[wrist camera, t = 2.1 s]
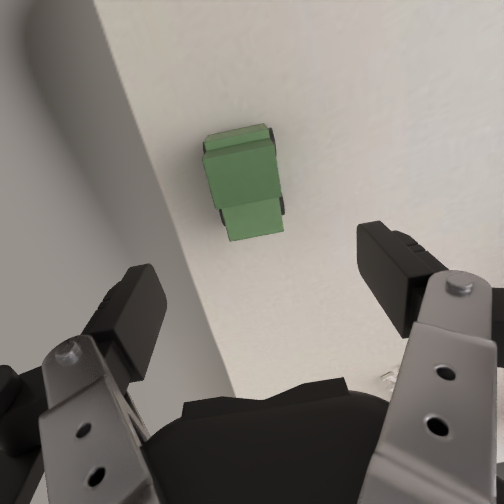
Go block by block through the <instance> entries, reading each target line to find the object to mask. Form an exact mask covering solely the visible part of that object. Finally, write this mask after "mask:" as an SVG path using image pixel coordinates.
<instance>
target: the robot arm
mask: <svg viewBox="0 0 504 504" xmlns="http://www.w3.org/2000/svg"><path fill="white" fill-rule="evenodd" d="M357 264H358V269H359V272H360V274H361V276H362V278H363V279H364V281H365V282H366V284H367V285H368V287H369V288H370V290H371V291H372V293H373V294H374V296H375V297H376V299H377V300H378V302H379V304H380V305H381V307H382V308H383V310H384V311H385V313H386V314H387V316H388V317H389V319H390V320H391V322H392V323H393V325H394V326H395V328H396V329H397V331H398V333H399V334H400V336H401V337H402V339H404V338H409V339H408V342H407V346H406V349H405V352H404V356H403V359H402V363H401V366H400V369H399V373H398V376H397V380H396V383H395V386H394V390H393V393H392V397H391V400H390V402H388V401H386V400H383V399H381V398H379V397H376V396H373V395H370V394H367V393H363V392H358V391H351V390H348V388H347V385H346V382H345V380H344V377H342V378H335V379H329V380H323V381H316V382H310V383H304V384H301V385H299V386H296V387H294V388H292V389H289V390H287V391H285V392H282V393H280V394H277V395H275V396H273V397H270V398H268V399H265V400H253V399H243V398H232V397H216V398H210V399H203V400H197V401H191V402H184V405H183V411H182V416H181V417H180V418H178V419H176V420H174V421H173V422H171V423H169V424H167V425H166V426H164V427H163V428H162V429H160V430H159V431H157V432H156V433H155V434H154V435H153V436H150V434H149V432H148V430H147V429H146V426H145V424H144V422H143V421H142V418H141V416H140V414H139V412H138V410H137V408H136V407H135V405H134V402H133V400H132V398H131V396H130V395H129V393H128V392H127V387H128V385H129V383H131V382H137V381H143V380H144V378H145V374H146V372H147V368H148V365H149V362H150V359H151V356H152V353H153V350H154V347H155V344H156V340H157V337H158V335H159V331H160V328H161V325H162V322H163V319H164V316H165V313H166V310H167V300H166V295H165V293H164V291H163V288H162V286H161V284H160V281H159V279H158V277H157V274H156V272H155V270H154V268H153V266H152V265H151V264H144V265H138V266H133V267H130V268H129V269H128V270H127V272H126V274H125V275H124V277H123V279H122V280H121V281H120V282H118V283H117V284H116V285H115V286H114V287H112V288H111V289H110V290H109V291H108V293H107V294H106V296H105V297H104V299H103V302H101V303H100V305H99V307H98V310H96V311H95V313H94V315H93V316H92V317H91V319H90V321H89V322H88V324H87V325H86V327H85V328H84V330H83V332H82V333H81V335H78V336H75V337H72V338H69V339H67V340H65V341H64V342H62V343H60V344H59V345H58V346H56V347H55V348H54V349H53V350H52V351H51V352H50V353H49V354H48V355H47V356H46V358H45V359H44V361H43V363H42V366H40V367H37V368H35V369H33V370H30V371H27V372H25V373H22V374H20V375H18V374H17V373H16V372H15V371H14V370H13V369H12V368H11V367H10V366H8V365H0V504H30V501H31V499H32V497H33V495H34V493H35V490H36V489H37V486H38V484H39V482H40V480H41V478H42V475H43V473H44V471H45V477H46V485H47V493H48V500H49V504H504V480H502V479H501V478H499V477H498V476H496V452H497V367H501V368H504V288H491V286H490V284H489V283H488V282H487V281H485V280H484V279H483V278H481V277H479V276H477V275H474V274H472V273H468V272H464V271H457V270H449V269H448V268H446V267H445V266H444V265H443V264H442V263H441V262H439V261H438V260H437V259H436V258H435V257H434V256H432V255H431V254H430V253H429V252H428V251H425V249H424V248H423V247H422V246H421V245H418V243H417V242H416V241H415V240H414V239H413V238H412V237H410V236H409V235H407V234H404V233H402V232H399V231H397V230H396V231H391V230H389V229H388V228H387V227H386V226H385V225H384V224H383V223H382V222H381V221H373V222H368V223H363V224H359V225H358V226H357Z"/></svg>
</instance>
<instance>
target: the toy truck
mask: <svg viewBox="0 0 504 504" xmlns="http://www.w3.org/2000/svg"><path fill="white" fill-rule="evenodd" d="M203 151H204V157H203V159H202V161H203V165H204V169H205V172H206V176H207V180H208V184H209V187H210V191H211V195H212V198H213V202H214V206H215V209H216V210H217V209H219V211H220V216H221V220H222V223H223V225H224V226H226V229H227V233H228V237H229V241H230V242H231V241H237V240H242V239H247V238H252V237H257V236H263V235H268V234H273V233H278V232H283V231H284V228H283V222H282V215H284V214H285V209H284V202H283V197H282V193H281V188H280V181H279V174H278V167H277V160H276V146H275V140H274V135H273V130H272V128H267V127H266V125H265V124H259V125H254V126H250V127H245V128H240V129H236V130H231V131H226V132H221V133H217V134H212V135H208V137H207V139H206V140H205V142H203Z"/></svg>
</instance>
